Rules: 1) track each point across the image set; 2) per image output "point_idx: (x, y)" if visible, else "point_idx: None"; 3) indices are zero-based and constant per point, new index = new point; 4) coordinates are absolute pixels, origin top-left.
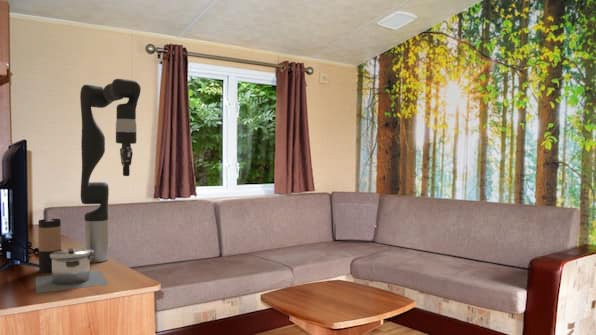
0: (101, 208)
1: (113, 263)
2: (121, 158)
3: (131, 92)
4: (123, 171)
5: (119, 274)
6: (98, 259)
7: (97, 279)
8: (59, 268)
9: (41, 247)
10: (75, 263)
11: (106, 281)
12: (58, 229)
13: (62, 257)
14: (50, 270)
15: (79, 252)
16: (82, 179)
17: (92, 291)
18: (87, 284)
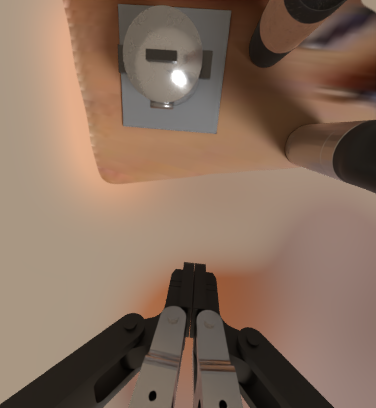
0: (358, 167)
1: (260, 165)
2: (202, 378)
3: None
4: (183, 278)
5: (180, 155)
6: (287, 145)
7: (157, 116)
8: None
9: None
10: (119, 64)
11: (139, 126)
12: (285, 18)
13: (127, 33)
14: (250, 43)
15: (151, 75)
16: None
17: (102, 97)
18: (134, 95)
